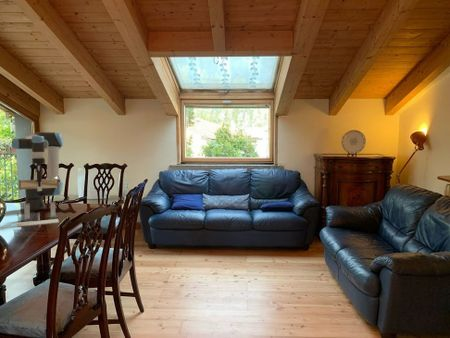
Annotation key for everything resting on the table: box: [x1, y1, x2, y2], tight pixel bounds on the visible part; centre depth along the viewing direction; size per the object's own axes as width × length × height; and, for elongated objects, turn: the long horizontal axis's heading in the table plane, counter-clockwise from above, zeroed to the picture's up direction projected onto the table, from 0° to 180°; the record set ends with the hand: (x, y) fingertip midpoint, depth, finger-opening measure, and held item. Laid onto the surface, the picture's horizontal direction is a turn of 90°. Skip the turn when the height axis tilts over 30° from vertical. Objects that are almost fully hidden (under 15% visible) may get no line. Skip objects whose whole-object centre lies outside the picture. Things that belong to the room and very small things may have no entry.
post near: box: [22, 203, 33, 222], centre depth 218 cm, size 6×5×11 cm
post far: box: [48, 201, 58, 220], centre depth 226 cm, size 6×5×11 cm
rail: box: [18, 178, 60, 190], centre depth 220 cm, size 4×24×6 cm, turn 120°
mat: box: [16, 218, 59, 228], centre depth 210 cm, size 10×24×1 cm, turn 120°
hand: (39, 190), depth 221 cm, fingers closed on rail, 4 cm apart
